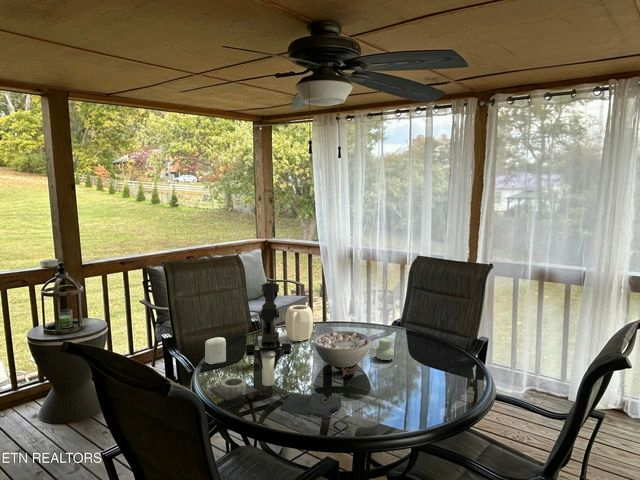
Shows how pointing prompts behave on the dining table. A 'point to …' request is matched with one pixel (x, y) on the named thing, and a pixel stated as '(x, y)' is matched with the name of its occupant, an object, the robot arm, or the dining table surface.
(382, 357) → the air freshener
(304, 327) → the watering can
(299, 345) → the dining table surface
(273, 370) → the cream bottle
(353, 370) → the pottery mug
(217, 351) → the photo printer
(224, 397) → the segmented ring base
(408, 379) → the dining table surface
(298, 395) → the dark slate chunk
